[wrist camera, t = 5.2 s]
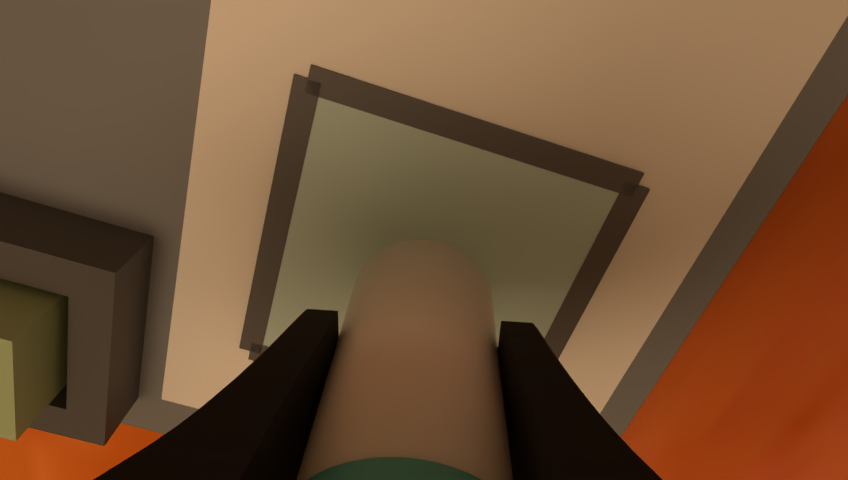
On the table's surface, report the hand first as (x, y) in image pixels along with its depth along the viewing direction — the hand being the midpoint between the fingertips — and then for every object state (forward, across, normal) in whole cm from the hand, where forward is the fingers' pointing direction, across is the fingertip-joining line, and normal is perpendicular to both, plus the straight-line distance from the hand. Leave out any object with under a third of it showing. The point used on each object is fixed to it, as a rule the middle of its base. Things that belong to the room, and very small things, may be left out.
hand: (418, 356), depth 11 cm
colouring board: (+4, +3, -2) cm, 5 cm away
